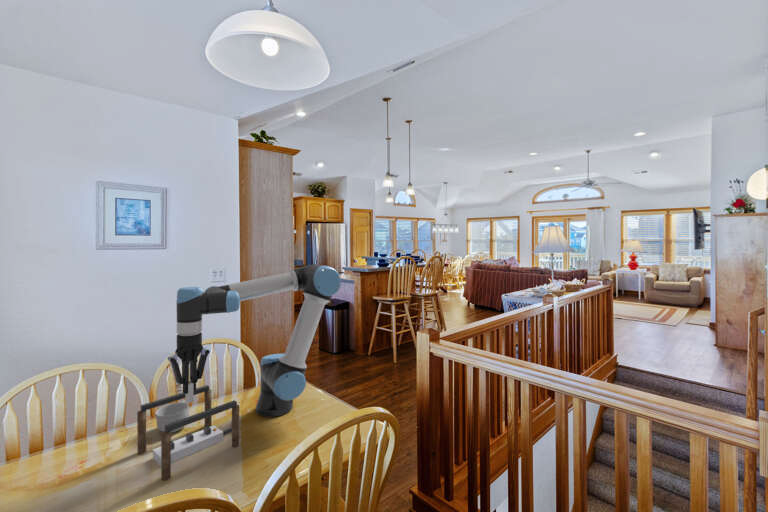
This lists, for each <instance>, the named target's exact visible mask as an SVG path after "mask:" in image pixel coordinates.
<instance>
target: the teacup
mask: <svg viewBox="0 0 768 512" xmlns="http://www.w3.org/2000/svg"><path fill="white" fill-rule="evenodd" d="M189 407H190V405H189V403H187V402H186V401H185V400H180V402H172V403H168V404H165V405H163V406H162V407H161V406H160V408H159V409H157V410H156V411H155V421H156V427H157V429H158V430H159V431H160V432H161V433H162V432H163V431H165V425H167V424H170V423H173V422H175V421H178V420H181V419H184V418H187V417H189V416H190V413H189ZM184 427H185V426H183V427H180V428H177V429H175V430H172V431H171V434H172V433H175V432H176V433H177V432H179V431H180V430H182V429H183V428H184Z"/></svg>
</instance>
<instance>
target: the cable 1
mask: <svg viewBox="0 0 768 512" xmlns="http://www.w3.org/2000/svg"><path fill="white" fill-rule="evenodd" d="M209 389H210V385H207V384H206V385H202V386H200V387H196V391H193V396H195V395H200V394H202V393H205V391H209ZM183 399H185V394H184V393H183V392H180V393H177V394H173V395H169V396H167V397H163V398H160V399H157V400H154V401H150V402H146V403H143V404H141V405H140V410H142V411H145V410H146V411H149V410H152V409H154V408H157V407H161V406H165V405H169V404H172V403H175V402H177V401H179V400H180V401H181V400H183Z"/></svg>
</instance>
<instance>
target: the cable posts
mask: <svg viewBox="0 0 768 512" xmlns="http://www.w3.org/2000/svg"><path fill="white" fill-rule="evenodd" d="M212 392H213V390H212V389H210V388H209V391H205V392H204V411H206V410H209V409H212V408H213V407H212V405H213V404H212V402H213V401H212V395H213V394H212ZM212 418H213V415H212V416H209V417H207V418H204V427H207V426H208V427H211V426H213V425H212V422H213V421H212ZM136 419H137V427H136V428H137V455H144V454H145V452H147V410H145V411H142V410H141V409H140V410H138V411H137V418H136ZM231 427H232V432H231V447H232V449H234V448H237V447H239V446H240V405H239V404H237V406H236V407H233V408H231ZM171 434H172V433H171V431H169V432H166V431H163V432H162V431H161V434H160V442H161V443H160V445H161V446H160V447H161V467H160V468H161V470H160V472H161V473H160V474H161V481H165V482H166V481H168V480H170V479H171V477H172V474H171V473H172V469H171V468H172V466H171V464H172V463H171V441H172V435H171Z"/></svg>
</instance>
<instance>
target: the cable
mask: <svg viewBox="0 0 768 512" xmlns="http://www.w3.org/2000/svg"><path fill="white" fill-rule="evenodd" d="M237 405H238V402H237V401H236V400H235V399H234V400H232V401H228V402H225V403H223V404H220V405H217V406H214V407H212V409H209V410H206V411H205V410H204V411H201V412H198V413H195V414H191V415H189V417H187V418H184V419H181V420H178V421H175V422H173V423H170V424H167V425H165V431H166V432H169V431H172V430H175V429H177V428H180V427H183V426H184V427H185V426H187V425H190V424H193V423H196V422H198V421H201V420H203V419H204V420H205V418H207V417H209V416H212V417H213V416H215V415H218V414H220V413H222V412H225V411H228V410H230V409H231V410H232V408H233V407H236V406H237ZM184 427H183V428H184Z"/></svg>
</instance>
